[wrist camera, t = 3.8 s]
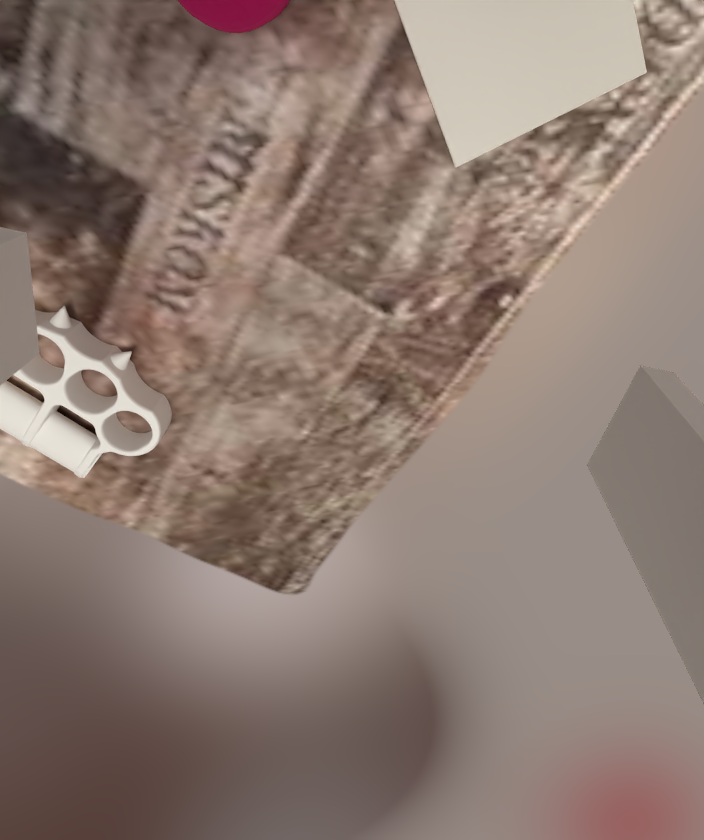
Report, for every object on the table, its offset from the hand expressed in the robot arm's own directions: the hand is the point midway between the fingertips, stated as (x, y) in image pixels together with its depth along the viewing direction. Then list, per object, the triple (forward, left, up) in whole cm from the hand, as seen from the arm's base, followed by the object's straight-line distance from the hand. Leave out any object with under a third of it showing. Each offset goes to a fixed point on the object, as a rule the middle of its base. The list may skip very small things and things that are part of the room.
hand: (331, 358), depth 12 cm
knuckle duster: (+5, -31, -31) cm, 45 cm away
